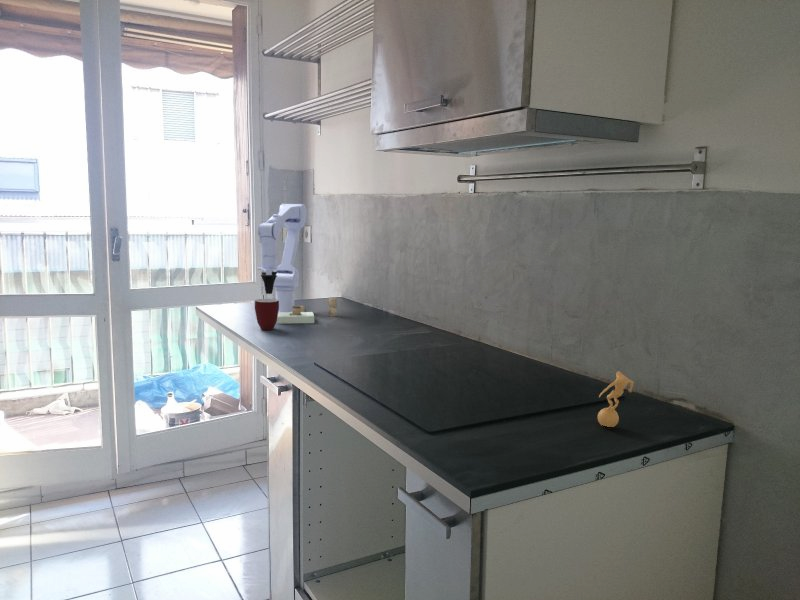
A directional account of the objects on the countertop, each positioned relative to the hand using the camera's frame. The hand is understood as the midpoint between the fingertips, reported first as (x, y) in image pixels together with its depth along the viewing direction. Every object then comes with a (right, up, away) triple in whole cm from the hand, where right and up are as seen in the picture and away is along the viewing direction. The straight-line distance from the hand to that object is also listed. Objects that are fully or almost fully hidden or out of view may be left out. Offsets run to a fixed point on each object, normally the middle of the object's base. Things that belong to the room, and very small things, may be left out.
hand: (269, 292), depth 226 cm
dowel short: (+11, -9, +7) cm, 16 cm away
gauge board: (+10, -11, -2) cm, 15 cm away
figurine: (+91, -29, -106) cm, 142 cm away
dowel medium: (+11, -11, -2) cm, 15 cm away
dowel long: (+23, -9, +10) cm, 26 cm away
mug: (+3, -13, -17) cm, 22 cm away
